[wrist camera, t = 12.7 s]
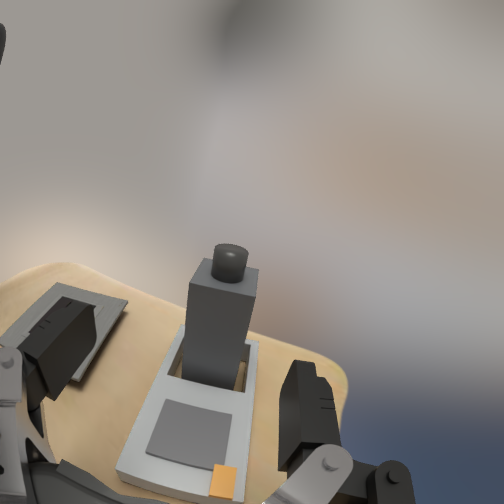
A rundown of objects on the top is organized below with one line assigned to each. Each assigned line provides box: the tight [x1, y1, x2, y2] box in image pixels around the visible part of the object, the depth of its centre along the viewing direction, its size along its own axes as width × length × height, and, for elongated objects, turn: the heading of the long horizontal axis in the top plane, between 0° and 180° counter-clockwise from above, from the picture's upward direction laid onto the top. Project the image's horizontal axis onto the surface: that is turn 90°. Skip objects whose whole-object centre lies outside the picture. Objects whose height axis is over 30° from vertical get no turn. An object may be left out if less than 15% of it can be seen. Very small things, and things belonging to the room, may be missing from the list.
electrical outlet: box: [0, 282, 128, 382], centre depth 24 cm, size 13×10×2 cm
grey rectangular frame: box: [115, 324, 259, 504], centre depth 20 cm, size 8×17×3 cm, turn 176°
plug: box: [181, 244, 259, 391], centre depth 22 cm, size 4×4×13 cm
